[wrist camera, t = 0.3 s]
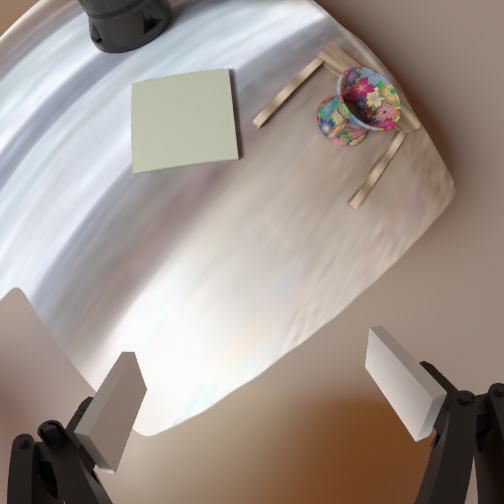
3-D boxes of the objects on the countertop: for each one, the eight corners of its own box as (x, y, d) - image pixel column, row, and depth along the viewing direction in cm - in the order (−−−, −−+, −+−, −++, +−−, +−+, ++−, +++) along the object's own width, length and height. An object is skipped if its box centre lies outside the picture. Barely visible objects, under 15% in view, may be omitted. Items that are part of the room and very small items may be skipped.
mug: (335, 87, 38) (363, 55, 28) (376, 127, 40) (412, 106, 29) (289, 129, 39) (309, 101, 28) (333, 173, 40) (367, 159, 29)
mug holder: (352, 208, 40) (368, 206, 35) (252, 124, 38) (256, 111, 33) (404, 131, 40) (421, 124, 35) (319, 56, 38) (329, 41, 33)
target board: (133, 86, 35) (132, 83, 34) (228, 71, 37) (228, 68, 36) (134, 174, 37) (132, 173, 36) (238, 160, 38) (238, 158, 37)
